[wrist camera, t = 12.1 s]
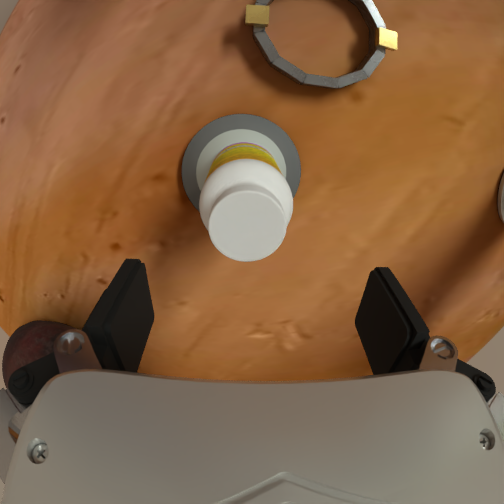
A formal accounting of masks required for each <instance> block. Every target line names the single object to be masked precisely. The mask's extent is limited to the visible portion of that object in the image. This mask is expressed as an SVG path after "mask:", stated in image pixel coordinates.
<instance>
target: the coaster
mask: <svg viewBox="0 0 504 504" xmlns="http://www.w3.org/2000/svg"><path fill="white" fill-rule="evenodd" d="M237 142H251V143H255V144H258V145H260V146H262V147H264V148H265V149H266V150H267V151H269V152H270V154H271V155H272V156H273V158H274V159H275V161H276V163H277V165H278V167H279V168H280V170H281V172H282V174H283V176H284V178H285V179H286V181H287V183H288V185H289V187H290V190H291V193H292V197H293V198H294V196H295V194H296V192H297V189H298V186H299V182H300V176H301V166H300V159H299V155H298V152H297V150H296V147H295V145H294V144H293V142H292V140H291V139H290V138H289V136H288V135H287V134H286V133H285V132H284V131H283V130H282V129H281V128H280V127H278V126H277V125H276V124H274V123H273V122H271V121H269V120H267V119H265V118H262V117H260V116H255V115H251V114H233V115H227V116H224V117H221V118H218V119H216V120H214V121H212V122H210V123H209V124H207V125H206V126H205V127H203V128H202V129H201V130H200V131H199V132H198V133H197V134H196V135H195V136H194V137H193V139H192V140H191V142H190V143H189V145H188V147H187V149H186V151H185V154H184V157H183V162H182V181H183V185H184V189H185V191H186V194H187V196H188V198H189V199H190V201H191V202H192V204H193V205H194V207H195V208H196V209H197V210H198V211H199V212H200V209H199V200H200V194H201V191H202V188H203V185H204V183H205V180H206V178H207V175H208V173H209V170H210V167H211V165H212V162H213V160H214V159H215V157H216V156H217V154H218V153H219V152H220V151H221V150H222V149H224V148H225V147H227V146H229V145H231V144H233V143H237Z"/></svg>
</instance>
